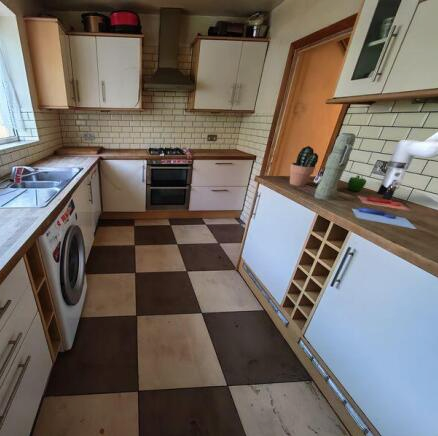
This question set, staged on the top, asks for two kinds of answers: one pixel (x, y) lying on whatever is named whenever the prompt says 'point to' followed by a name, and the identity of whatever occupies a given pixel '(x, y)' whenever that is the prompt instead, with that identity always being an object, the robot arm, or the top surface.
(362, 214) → the blue mat
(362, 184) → the bell pepper
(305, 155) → the potted plant
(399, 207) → the red mat
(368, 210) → the blue spoon
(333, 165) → the stone statue
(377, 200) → the red spoon
